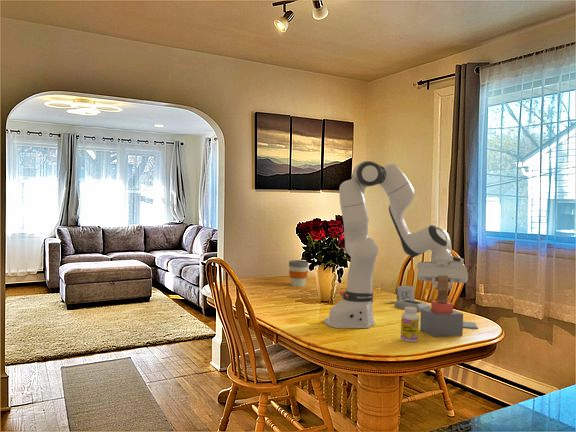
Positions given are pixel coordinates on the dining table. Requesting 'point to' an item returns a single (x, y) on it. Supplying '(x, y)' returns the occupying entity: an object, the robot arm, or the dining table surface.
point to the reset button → (441, 307)
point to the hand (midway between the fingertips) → (442, 288)
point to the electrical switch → (405, 293)
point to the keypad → (411, 304)
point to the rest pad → (470, 325)
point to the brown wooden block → (442, 289)
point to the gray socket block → (441, 323)
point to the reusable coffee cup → (298, 272)
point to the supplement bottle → (409, 325)
